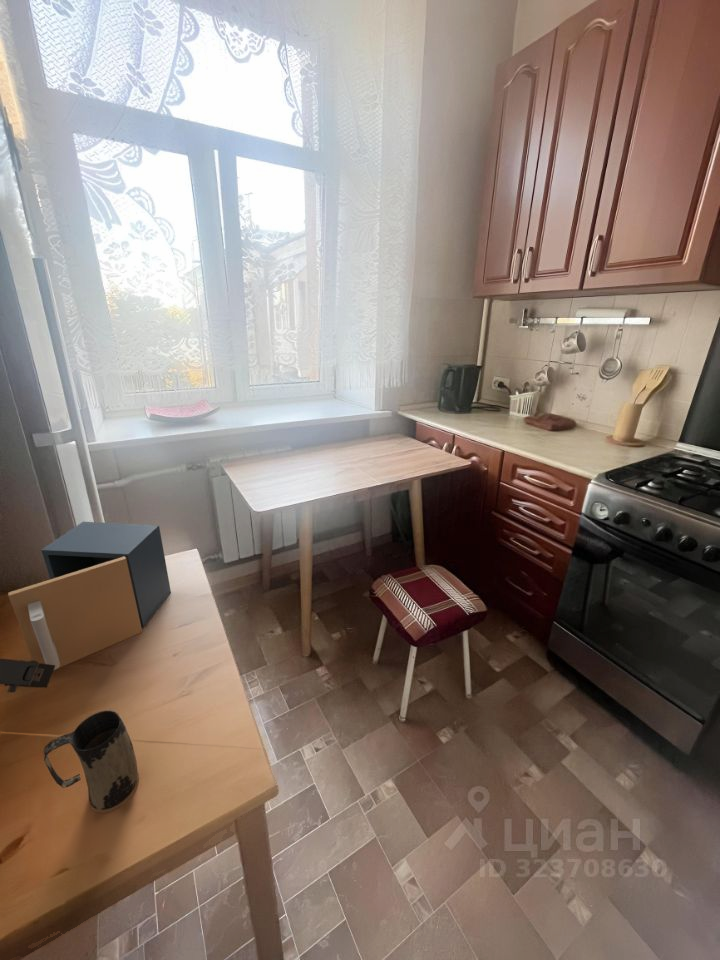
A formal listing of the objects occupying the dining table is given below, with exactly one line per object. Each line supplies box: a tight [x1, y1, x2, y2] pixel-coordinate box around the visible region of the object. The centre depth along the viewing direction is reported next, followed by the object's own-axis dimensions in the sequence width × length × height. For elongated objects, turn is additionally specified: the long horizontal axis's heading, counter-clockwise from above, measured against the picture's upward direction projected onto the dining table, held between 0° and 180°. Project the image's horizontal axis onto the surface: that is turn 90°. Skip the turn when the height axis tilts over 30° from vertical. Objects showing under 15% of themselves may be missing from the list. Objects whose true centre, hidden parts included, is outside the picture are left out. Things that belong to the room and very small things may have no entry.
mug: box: [43, 710, 140, 814], centre depth 48 cm, size 8×6×12 cm
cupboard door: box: [7, 556, 143, 672], centre depth 66 cm, size 6×16×17 cm, turn 132°
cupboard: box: [41, 521, 172, 629], centre depth 79 cm, size 11×16×17 cm
